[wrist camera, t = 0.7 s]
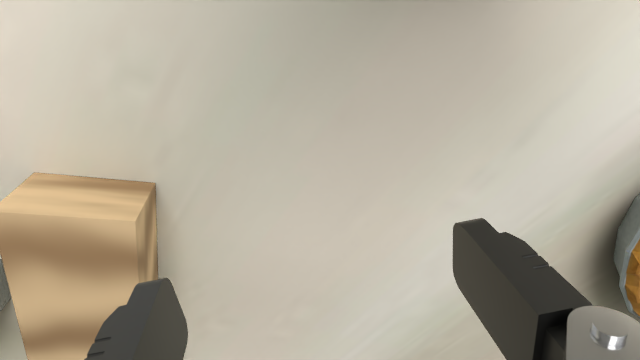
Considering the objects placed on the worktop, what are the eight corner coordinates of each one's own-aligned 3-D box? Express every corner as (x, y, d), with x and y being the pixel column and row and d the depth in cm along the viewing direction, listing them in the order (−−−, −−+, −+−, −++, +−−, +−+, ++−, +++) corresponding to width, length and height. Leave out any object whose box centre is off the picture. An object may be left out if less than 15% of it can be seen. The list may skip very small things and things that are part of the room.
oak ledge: (34, 172, 27) (-11, 211, 23) (155, 182, 28) (135, 221, 24) (69, 362, 36) (42, 416, 32) (160, 363, 37) (146, 414, 33)
